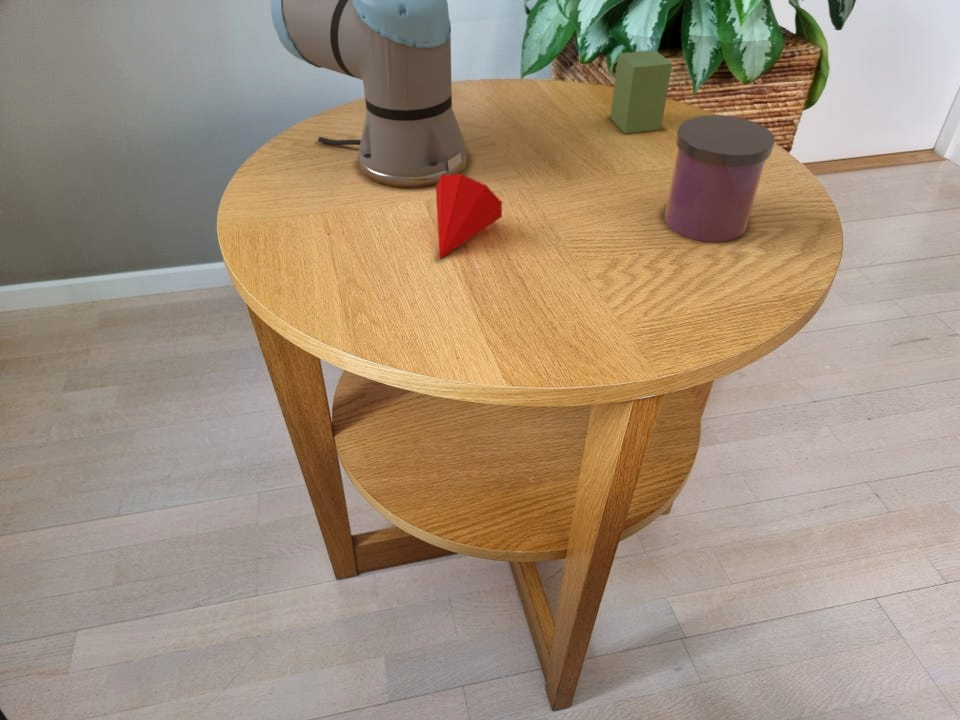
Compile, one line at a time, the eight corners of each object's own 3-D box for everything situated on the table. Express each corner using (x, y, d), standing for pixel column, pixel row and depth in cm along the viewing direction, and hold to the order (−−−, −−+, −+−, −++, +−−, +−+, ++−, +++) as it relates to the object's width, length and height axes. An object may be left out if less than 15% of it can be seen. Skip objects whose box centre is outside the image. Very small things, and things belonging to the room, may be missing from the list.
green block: (624, 133, 107) (634, 67, 100) (610, 118, 111) (618, 53, 105) (661, 129, 108) (672, 63, 101) (645, 114, 112) (655, 49, 106)
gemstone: (484, 264, 79) (517, 194, 82) (415, 226, 77) (451, 156, 80) (463, 288, 87) (493, 224, 90) (400, 255, 85) (433, 190, 89)
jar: (657, 236, 85) (674, 148, 78) (665, 194, 93) (681, 110, 85) (749, 249, 83) (776, 160, 75) (749, 205, 91) (774, 120, 83)
